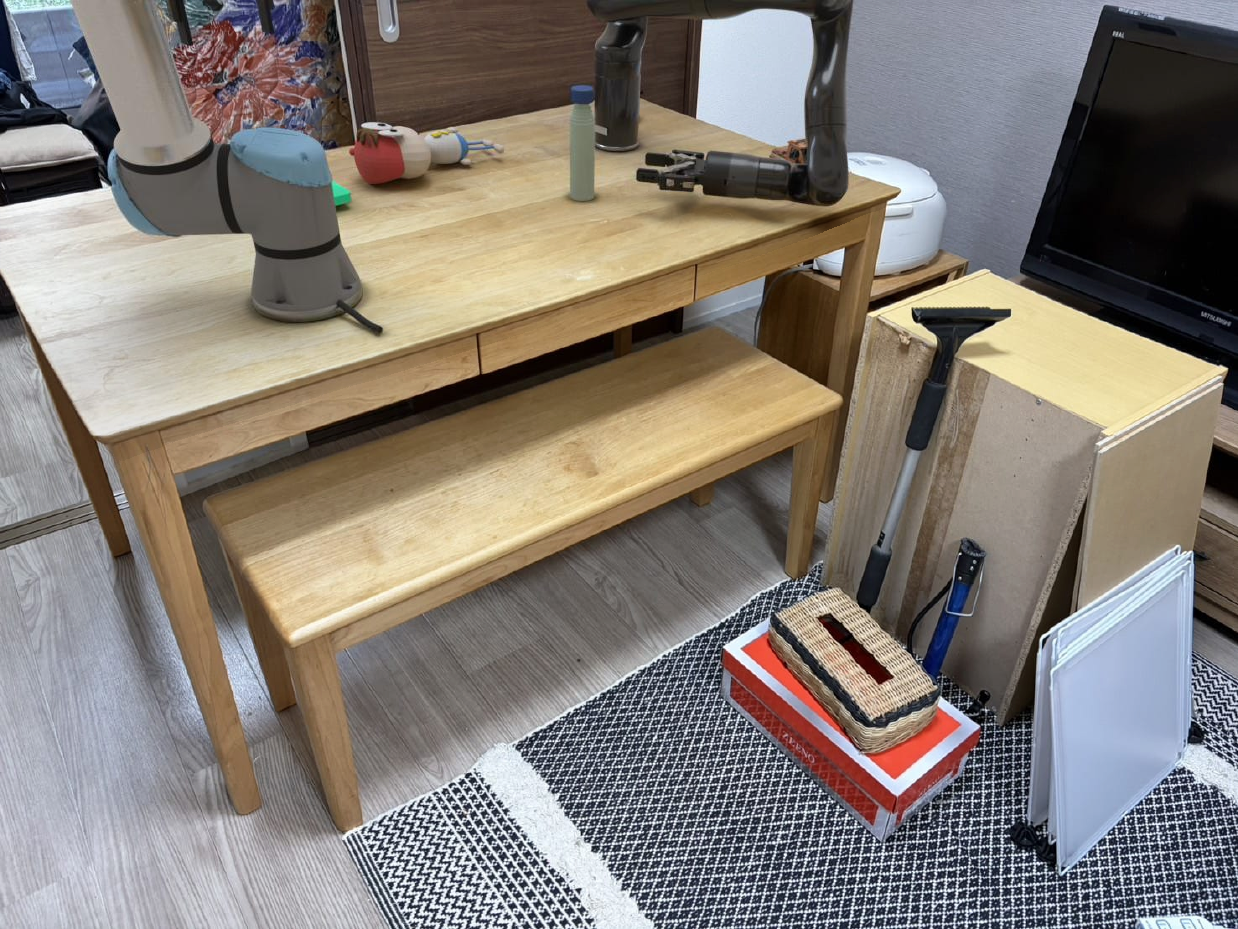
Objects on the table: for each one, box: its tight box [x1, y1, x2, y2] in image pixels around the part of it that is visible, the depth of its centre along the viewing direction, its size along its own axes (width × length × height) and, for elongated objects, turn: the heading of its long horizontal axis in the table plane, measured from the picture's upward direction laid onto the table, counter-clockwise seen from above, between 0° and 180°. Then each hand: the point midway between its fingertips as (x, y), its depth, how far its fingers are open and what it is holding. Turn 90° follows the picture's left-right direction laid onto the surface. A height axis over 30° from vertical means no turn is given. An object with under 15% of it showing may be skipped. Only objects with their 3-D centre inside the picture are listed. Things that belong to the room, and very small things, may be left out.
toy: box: [348, 121, 505, 185], centre depth 177 cm, size 18×10×30 cm
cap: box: [570, 84, 595, 105], centre depth 159 cm, size 4×4×2 cm
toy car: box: [768, 138, 807, 164], centre depth 178 cm, size 6×12×7 cm, turn 39°
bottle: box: [569, 103, 596, 202], centre depth 164 cm, size 4×4×19 cm
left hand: (229, 38), depth 148 cm, fingers open, 13 cm apart
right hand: (641, 166), depth 164 cm, fingers open, 8 cm apart
